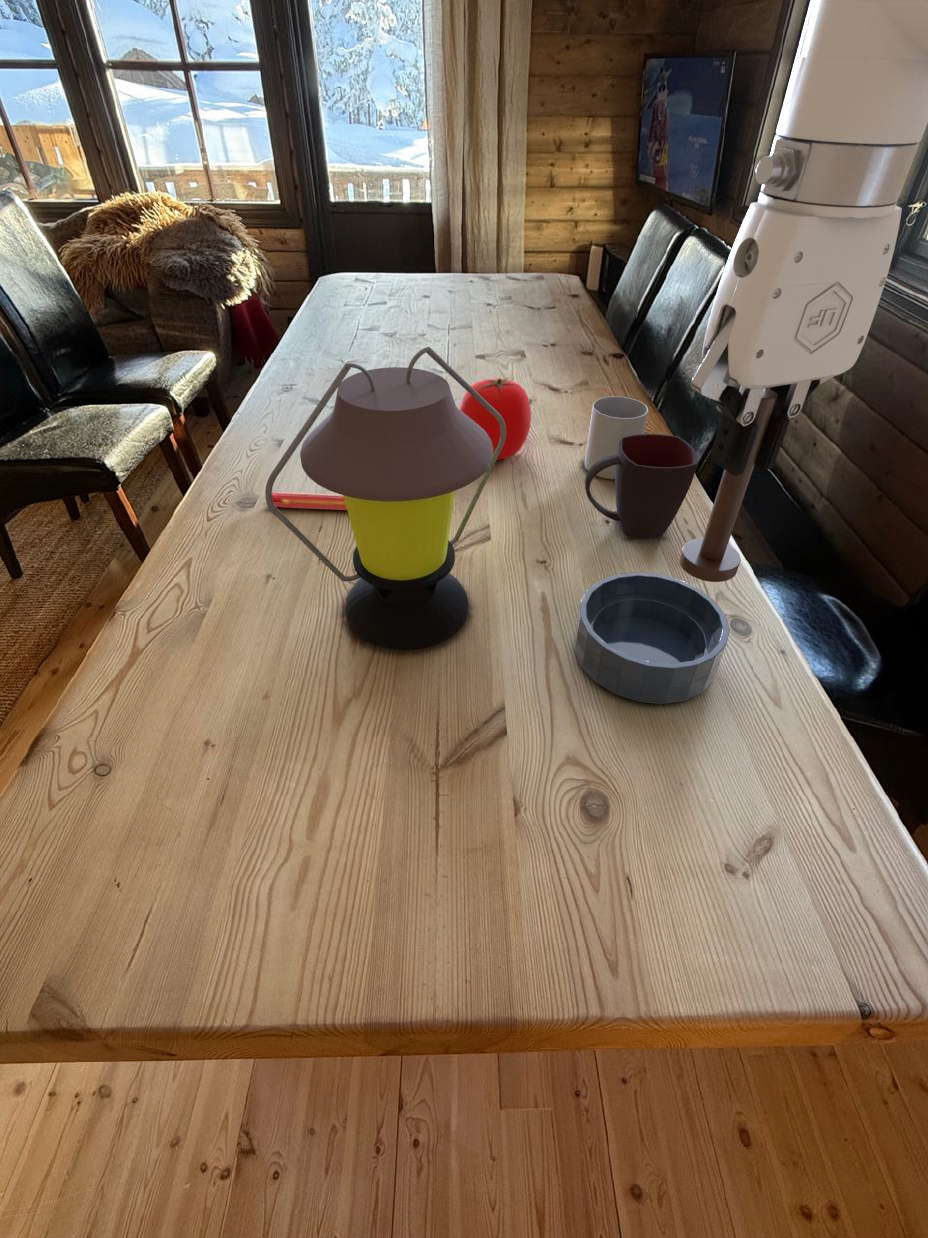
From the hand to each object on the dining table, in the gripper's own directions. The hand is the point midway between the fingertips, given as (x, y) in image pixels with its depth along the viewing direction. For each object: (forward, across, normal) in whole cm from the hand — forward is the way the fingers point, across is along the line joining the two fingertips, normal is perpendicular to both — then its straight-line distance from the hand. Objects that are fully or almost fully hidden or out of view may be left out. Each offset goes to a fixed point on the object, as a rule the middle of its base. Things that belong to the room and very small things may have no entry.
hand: (740, 462), depth 50 cm
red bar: (+28, -21, +49) cm, 60 cm away
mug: (+28, +14, +30) cm, 43 cm away
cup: (+28, +21, +47) cm, 58 cm away
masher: (+10, 0, 0) cm, 10 cm away
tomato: (+28, +5, +58) cm, 64 cm away
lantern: (+28, -21, +24) cm, 42 cm away
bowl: (+28, +2, +7) cm, 28 cm away
